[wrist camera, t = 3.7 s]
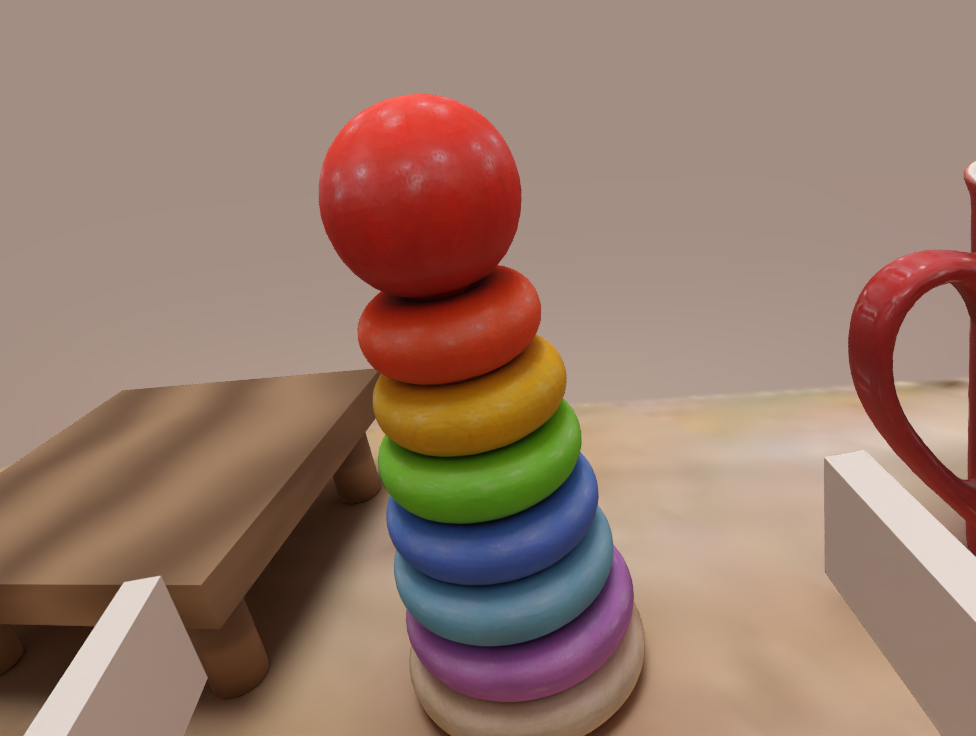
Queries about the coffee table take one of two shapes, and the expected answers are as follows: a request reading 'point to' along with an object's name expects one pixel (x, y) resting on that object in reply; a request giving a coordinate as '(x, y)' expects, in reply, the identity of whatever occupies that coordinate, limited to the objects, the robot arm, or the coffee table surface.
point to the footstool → (179, 505)
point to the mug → (874, 359)
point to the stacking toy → (476, 434)
